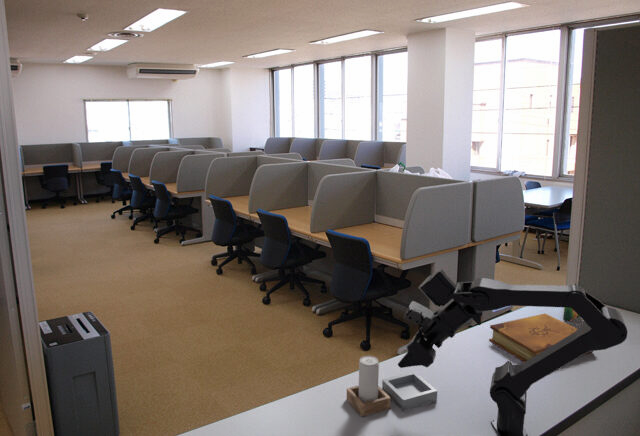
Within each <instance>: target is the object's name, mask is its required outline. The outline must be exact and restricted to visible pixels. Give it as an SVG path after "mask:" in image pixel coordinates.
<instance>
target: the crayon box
mask: <svg viewBox="0 0 640 436" xmlns="http://www.w3.org/2000/svg"><path fill="white" fill-rule="evenodd" d="M573 285H577V282H576V283H574V284H573ZM563 309H564V310H563V317H562V319H563V320H565V321H568V320H569V321H568V322H572V321H573V320H575V319H577V318H578V317H580V316H579V315H578V314H577V313H576V312H575V311H574V310H573V309H572V308H564V307H563ZM577 316H578V317H577ZM576 317H577V318H576Z"/></svg>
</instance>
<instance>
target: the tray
mask: <svg viewBox="0 0 640 436" xmlns="http://www.w3.org/2000/svg"><path fill="white" fill-rule="evenodd" d="M381 380H382V381H381V382H382V383H381V385H382V387H381V389H382V390H383V391H384V392H385V393H386V394H387V395H388V396H389V397H390V398H391V401H393V402H394V403H395V405H397V407H399V408H400V409H401V411H403V412H404V411H409V410H411V409H414V408H415V409H416V408H418V407H421V406H425V405H428V404H429V405H430V404H432V403H436V402H437V401H438V390H437V389H436V388H435V387H433V386H432V384H430V383H429V382H428V381H426V380H425V379H424V378H423V377H422V376H421V375H420V374H418V372H416V371H412V372H406V373H404V374H399V375H395V376H392V377H388V378H384V379H381Z"/></svg>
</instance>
